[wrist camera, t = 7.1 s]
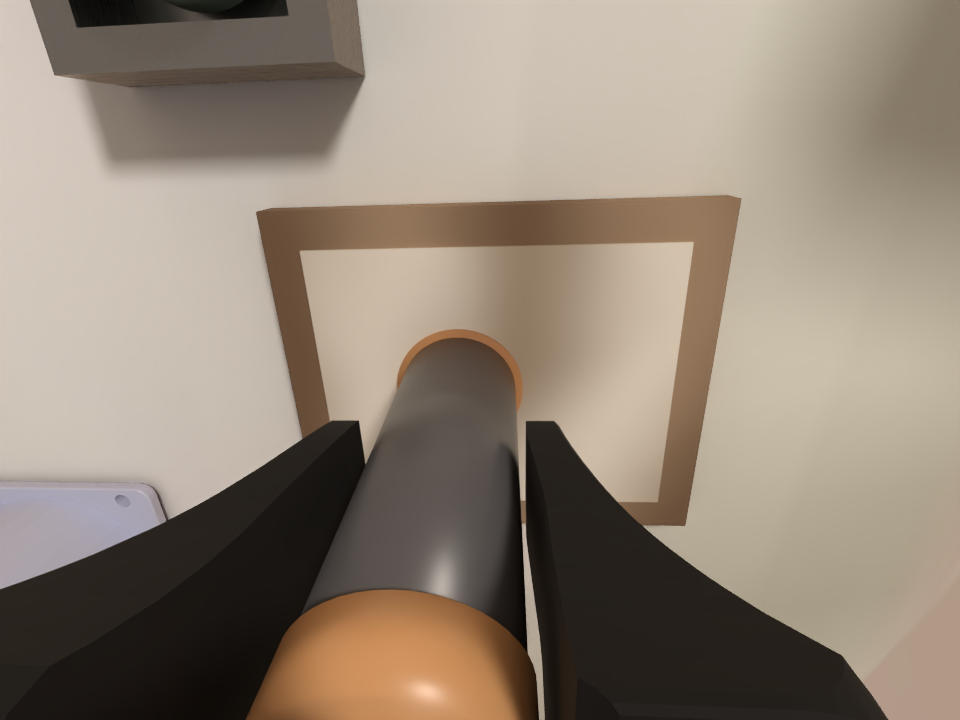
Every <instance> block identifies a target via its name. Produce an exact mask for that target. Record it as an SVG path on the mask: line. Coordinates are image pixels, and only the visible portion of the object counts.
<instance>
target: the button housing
mask: <svg viewBox="0 0 960 720" xmlns="http://www.w3.org/2000/svg"><path fill="white" fill-rule="evenodd" d="M30 2H31V5H32V8H33V11H34V14H35V17H36V20H37V23H38V26H39V29H40V32H41V35H42V39H43V42H44V45H45V48H46V51H47V54H48V57H49V60H50V63H51V66H52V69H53V72H54V75H56V76H63V77H69V78H75V79H82V80H88V81H94V82H101V83H107V84H114V85H120V86H126V87H142V86H163V85H185V84H206V83H227V82H249V81H270V80H292V79H313V78H335V77H356V76H365V71H364V62H363V53H362V44H361V35H360V26H359V17H358V8H357V0H243V1H242V2H241V3H239V4H238V5H236V6H234V7H232V8H230V9H227V10H224V11H221V12H214V13H198V12H193V11H188V10H185V9H182V8H179V7H177V6H174V5H172V4H169V3H167V2H165V1H162V0H30Z"/></svg>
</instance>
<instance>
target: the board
mask: <svg viewBox="0 0 960 720" xmlns="http://www.w3.org/2000/svg"><path fill="white" fill-rule="evenodd" d="M740 203H741V198H737V197H732V196H728V195H727V196H692V197H656V198H621V199H585V200H550V201H514V202H479V203H444V204H408V205H373V206H337V207H302V208H270V209H266V210H262V211H258V212H256V214H257V219H258V224H259V229H260V233H261V238H262V243H263V248H264V253H265V257H266V262H267V267H268V272H269V277H270V282H271V286H272V291H273V296H274V301H275V306H276V311H277V315H278V320H279V325H280V330H281V335H282V339H283V344H284V349H285V354H286V359H287V364H288V368H289V373H290V378H291V383H292V388H293V393H294V397H295V402H296V407H297V412H298V417H299V421H300V426H301V431H302V436H303V438H305V437H306V436H308V435H309V434H311V433H312V432H314V431H315V430H317V429H319V428H320V427H322V426H323V425H325V424H327V423H329V422H330V421H332V420H354V421H359V424H360V431H361V438H362V444H363V451H364V457H365V464H366V463H367V460H368V458H369V456H370V453H371V451H372V449H373V446H374V444H375V442H376V439H377V437H378V435H379V432H380V430H381V428H382V425H383V423H384V421H385V418H386V416H387V414H388V412H389V409H390V407H391V405H392V402H393V400H394V398H395V395H396V393H397V391H398V388H399V386H400V384H401V381H402V379H403V377H404V374H405V372H406V370H407V367H408V365H409V363H410V362H411V360H412V359H413V358H414V356H415V355H416V354H417V353H418V352H419V351H420V350H421V349H423V348H424V347H426V346H427V345H429V344H431V343H433V342H436V341H439V340H442V339H447V338H468V339H473V340H476V341H479V342H481V343H484V344H486V345H488V346H489V347H491V348H493V349H494V350H495V351H496V352H498V353H499V354H500V355H501V356H502V357H503V358H504V360H505V361H506V362H507V364H508V365H509V367H510V369H511V371H512V374H513V376H514V381H515V390H516V411H517V433H518V455H519V477H520V498H521V520H522V523H526V500H525V482H526V421H555V422H556V423H557V424H558V425H559V427H560V428H561V430H562V432H563V433H564V435H565V437H566V438H567V440H568V441H569V443H570V444H571V446H572V447H573V448H574V450H575V451H576V453H577V454H578V455H579V457H580V458H581V459H582V461H583V462H584V463H585V465H586V466H587V467H588V468H589V470H590V471H591V472H592V473H593V475H594V476H595V477H596V478H597V480H598V481H599V482H600V483H601V484H602V485H603V486H604V488H605V489H606V490H607V491H608V492H609V493H610V494H611V495H612V496H613V497H614V498H615V500H616V501H617V502H618V503H619V504H620V505H621V506H622V507H623V508H624V509H625V510H626V511H627V512H628V513H629V514H630V515H631V516H632V517H633V518H634V519H635V520H636V521H637V522H639V523H640V524H641V525H670V526H685V524H686V518H687V512H688V506H689V501H690V495H691V489H692V483H693V477H694V471H695V466H696V460H697V454H698V448H699V442H700V437H701V431H702V425H703V419H704V413H705V407H706V402H707V396H708V390H709V384H710V378H711V372H712V367H713V361H714V355H715V349H716V343H717V337H718V332H719V326H720V320H721V314H722V308H723V302H724V297H725V291H726V285H727V279H728V273H729V267H730V262H731V256H732V250H733V244H734V238H735V232H736V227H737V221H738V215H739V209H740Z"/></svg>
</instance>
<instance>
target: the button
mask: <svg viewBox="0 0 960 720" xmlns="http://www.w3.org/2000/svg"><path fill="white" fill-rule="evenodd" d="M162 1H165V2H167V3H169V4H172V5H174V6H177V7H179V8H182V9H185V10H188V11H193V12H198V13H214V12H221V11H224V10H227V9H230V8H232V7H234V6H236V5H238V4H239V3H241V2H242V1H243V0H162Z"/></svg>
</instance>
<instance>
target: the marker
mask: <svg viewBox="0 0 960 720" xmlns="http://www.w3.org/2000/svg"><path fill="white" fill-rule="evenodd" d="M246 720H539V712H538V695H537V681H536V674H535V670H534V667H533V664H532V662H531V660H530V658H529V656H528V651H527V629H526V607H525V585H524V564H523V542H522V520H521V498H520V477H519V455H518V433H517V411H516V390H515V381H514V376H513V374H512V371H511V369H510V367H509V365H508V364H507V362H506V361H505V360H504V358H503V357H502V356H501V355H500V354H499V353H498V352H496V351H495V350H494V349H493V348H491V347H489V346H488V345H486V344H484V343H481V342H479V341H476V340H473V339H468V338H447V339H442V340H439V341H436V342H433V343H431V344H429V345H427V346H426V347H424V348H423V349H421V350H420V351H419V352H418V353H417V354H416V355H415V356H414V358H413V359H412V360H411V362H410V363H409V365H408V367H407V370H406V372H405V374H404V377H403V379H402V381H401V384H400V386H399V388H398V391H397V393H396V395H395V398H394V400H393V402H392V405H391V407H390V409H389V412H388V414H387V416H386V418H385V421H384V423H383V425H382V428H381V430H380V432H379V435H378V437H377V439H376V442H375V444H374V446H373V449H372V451H371V453H370V456H369V458H368V460H367V463H366V465H365V467H364V470H363V472H362V474H361V477H360V479H359V481H358V484H357V486H356V488H355V491H354V493H353V495H352V498H351V500H350V502H349V504H348V507H347V509H346V511H345V514H344V516H343V518H342V521H341V523H340V525H339V528H338V530H337V532H336V535H335V537H334V539H333V542H332V544H331V546H330V549H329V551H328V553H327V556H326V558H325V560H324V563H323V565H322V567H321V570H320V572H319V574H318V577H317V579H316V581H315V584H314V586H313V588H312V590H311V593H310V595H309V597H308V600H307V602H306V604H305V607H304V609H303V611H302V614H301V616H300V617H299V618H298V619H297V620H296V621H295V622H294V623H293V624H292V625H291V626H290V627H289V629H288V630H287V632H286V633H285V634H284V636H283V638H282V640H281V642H280V644H279V646H278V649H277V651H276V653H275V655H274V658H273V660H272V662H271V664H270V667H269V669H268V671H267V673H266V675H265V678H264V680H263V682H262V684H261V687H260V689H259V691H258V693H257V696H256V698H255V700H254V702H253V705H252V707H251V709H250V711H249V713H248V716H247V718H246Z"/></svg>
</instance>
